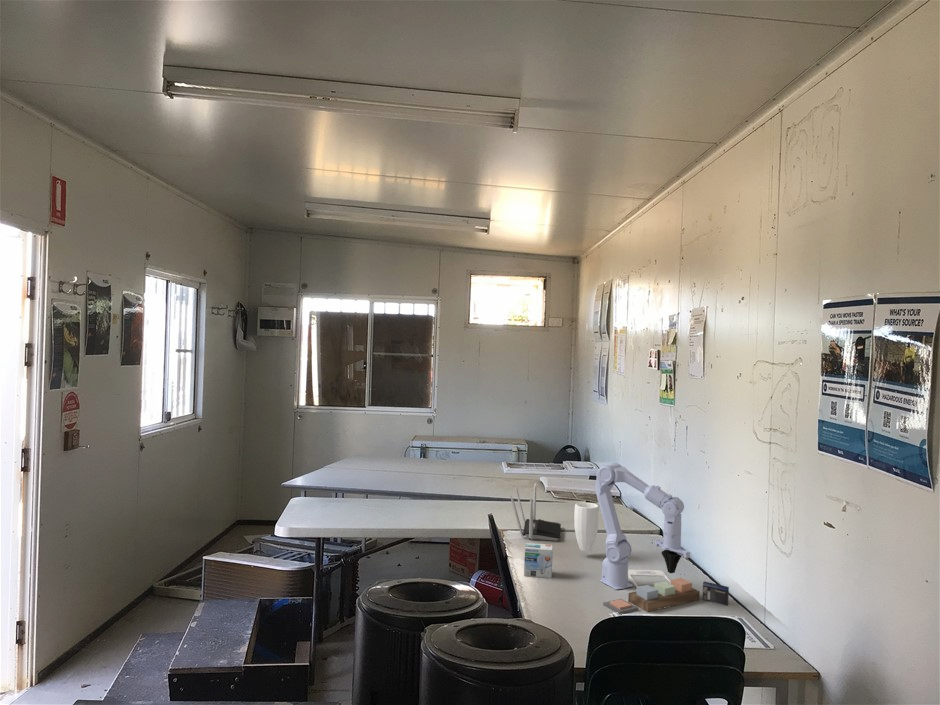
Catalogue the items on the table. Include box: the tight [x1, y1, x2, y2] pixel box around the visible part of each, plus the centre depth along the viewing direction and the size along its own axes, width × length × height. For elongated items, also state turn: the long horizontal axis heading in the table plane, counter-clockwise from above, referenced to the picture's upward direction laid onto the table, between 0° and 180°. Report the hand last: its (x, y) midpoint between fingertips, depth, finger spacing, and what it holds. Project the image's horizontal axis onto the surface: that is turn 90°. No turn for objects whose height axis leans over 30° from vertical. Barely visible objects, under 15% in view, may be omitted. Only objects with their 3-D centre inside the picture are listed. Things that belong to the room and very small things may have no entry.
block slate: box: [636, 584, 658, 600], centre depth 208 cm, size 5×5×4 cm
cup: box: [573, 501, 600, 552], centre depth 256 cm, size 10×10×22 cm
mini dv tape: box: [701, 581, 730, 606], centre depth 212 cm, size 8×2×6 cm, turn 56°
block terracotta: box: [670, 577, 693, 593], centre depth 216 cm, size 5×5×4 cm
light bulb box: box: [523, 542, 554, 579], centre depth 234 cm, size 11×7×11 cm, turn 82°
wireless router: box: [509, 482, 562, 542], centre depth 287 cm, size 34×23×20 cm
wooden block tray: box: [627, 587, 701, 613], centre depth 212 cm, size 9×24×3 cm, turn 118°
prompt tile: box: [602, 598, 639, 615], centre depth 205 cm, size 8×8×1 cm
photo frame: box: [628, 569, 671, 589], centre depth 232 cm, size 15×1×18 cm
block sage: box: [653, 580, 675, 596], centre depth 212 cm, size 5×5×4 cm
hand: (671, 572), depth 213 cm, fingers closed
